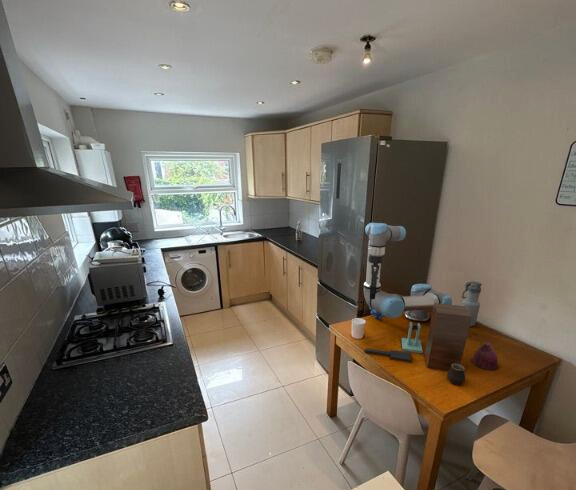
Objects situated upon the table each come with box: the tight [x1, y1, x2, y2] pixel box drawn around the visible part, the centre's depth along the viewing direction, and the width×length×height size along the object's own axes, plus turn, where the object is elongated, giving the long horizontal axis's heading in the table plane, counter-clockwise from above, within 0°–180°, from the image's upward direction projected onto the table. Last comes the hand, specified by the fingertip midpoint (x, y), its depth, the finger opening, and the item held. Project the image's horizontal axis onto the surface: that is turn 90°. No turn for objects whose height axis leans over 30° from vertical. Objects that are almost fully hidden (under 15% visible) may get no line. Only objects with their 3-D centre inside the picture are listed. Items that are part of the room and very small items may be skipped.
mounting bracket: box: [401, 321, 424, 354], centre depth 166 cm, size 12×10×14 cm
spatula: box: [364, 347, 412, 363], centre depth 160 cm, size 7×23×2 cm, turn 73°
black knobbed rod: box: [412, 323, 418, 331], centre depth 170 cm, size 15×4×4 cm, turn 163°
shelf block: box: [424, 303, 472, 372], centre depth 148 cm, size 12×14×30 cm
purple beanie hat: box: [471, 341, 498, 371], centre depth 149 cm, size 10×10×15 cm
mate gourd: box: [446, 364, 466, 385], centre depth 137 cm, size 7×8×10 cm
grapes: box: [368, 306, 386, 320], centre depth 198 cm, size 12×7×12 cm, turn 53°
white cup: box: [351, 317, 367, 340], centre depth 177 cm, size 8×8×10 cm
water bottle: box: [461, 280, 483, 327], centre depth 190 cm, size 10×10×28 cm
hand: (372, 294), depth 159 cm, fingers open, 12 cm apart
